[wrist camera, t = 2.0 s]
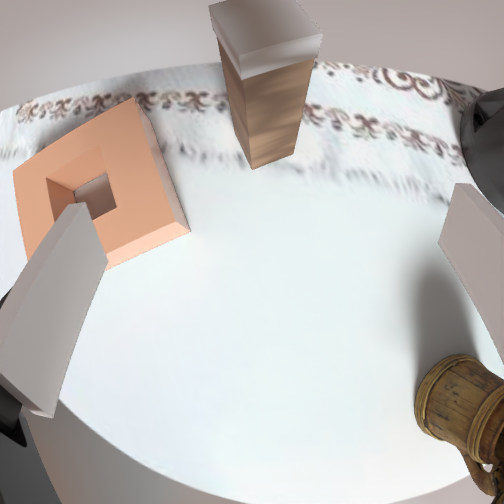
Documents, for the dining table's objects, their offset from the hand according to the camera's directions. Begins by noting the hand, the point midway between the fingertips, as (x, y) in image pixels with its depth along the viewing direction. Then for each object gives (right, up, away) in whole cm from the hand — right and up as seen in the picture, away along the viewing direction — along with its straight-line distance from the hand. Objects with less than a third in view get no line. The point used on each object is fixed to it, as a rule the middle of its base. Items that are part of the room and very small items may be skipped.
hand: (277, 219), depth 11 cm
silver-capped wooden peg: (0, +9, +18) cm, 20 cm away
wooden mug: (+19, -18, +15) cm, 30 cm away
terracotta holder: (-15, +3, +18) cm, 23 cm away
